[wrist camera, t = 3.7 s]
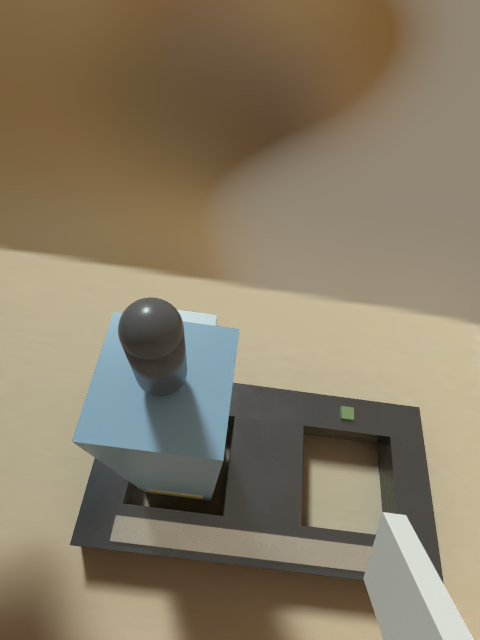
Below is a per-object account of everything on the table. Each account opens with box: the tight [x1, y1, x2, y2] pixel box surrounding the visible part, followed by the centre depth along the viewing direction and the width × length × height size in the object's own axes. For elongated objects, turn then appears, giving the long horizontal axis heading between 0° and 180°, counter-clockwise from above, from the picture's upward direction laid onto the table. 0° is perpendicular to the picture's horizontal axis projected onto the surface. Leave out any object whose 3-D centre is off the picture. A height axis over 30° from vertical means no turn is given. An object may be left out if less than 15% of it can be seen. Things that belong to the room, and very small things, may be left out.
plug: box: [72, 298, 239, 501], centre depth 16 cm, size 4×5×19 cm
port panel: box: [70, 383, 443, 582], centre depth 23 cm, size 20×10×2 cm, turn 84°
